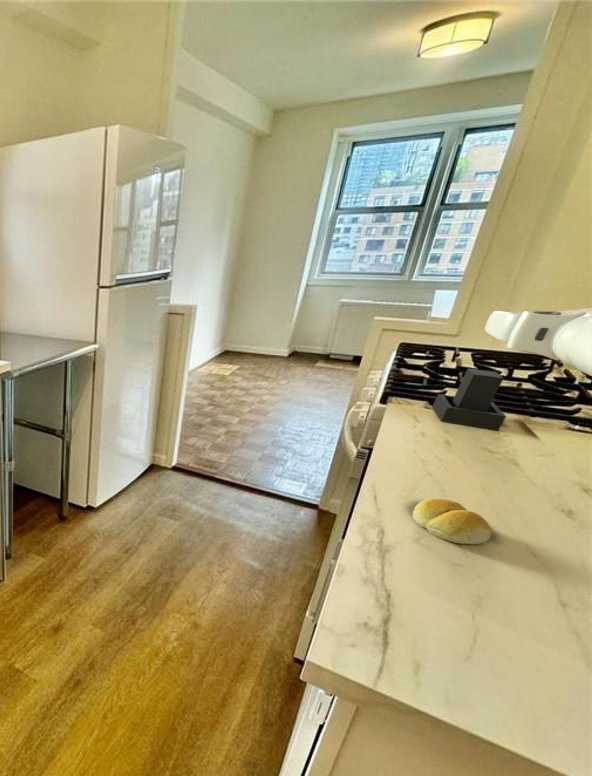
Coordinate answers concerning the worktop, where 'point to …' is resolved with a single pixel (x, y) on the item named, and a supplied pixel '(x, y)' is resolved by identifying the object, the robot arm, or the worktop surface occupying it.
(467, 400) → the dark grey block
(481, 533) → the bread roll
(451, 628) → the worktop surface
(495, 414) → the black open rectangular box
